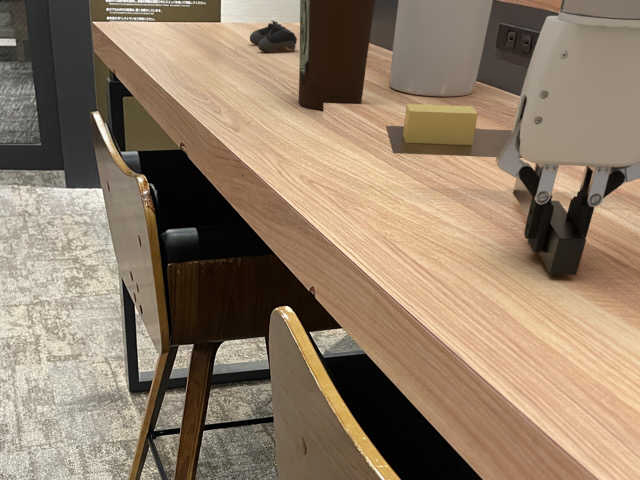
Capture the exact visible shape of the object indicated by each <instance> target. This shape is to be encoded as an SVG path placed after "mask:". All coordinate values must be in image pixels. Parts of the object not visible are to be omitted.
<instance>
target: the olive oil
mask: <svg viewBox="0 0 640 480" xmlns="http://www.w3.org/2000/svg"><path fill="white" fill-rule="evenodd" d="M375 4H376V0H299V67H298V68H299V72H298V74H299V75H298V104H299V105H300V106H301V107H304V108H308V109H313V110H320V111H324V104H338V105H339V104H340V105H341V104H342V105H362V101H363V94H364V86H365V85H364V84H365V76H366V68H367V63H368V62H367V61H368V54H369V46H370V41H371V33H372V32H371V31H372V27H373V26H372V25H373V17H374V12H375V7H376V6H375Z"/></svg>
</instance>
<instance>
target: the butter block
mask: <svg viewBox="0 0 640 480" xmlns="http://www.w3.org/2000/svg"><path fill="white" fill-rule="evenodd" d="M478 114H479V112H478V111H477V110H476V109H475V107H474V106H473V105H451V104H450V105H447V104H445V105H444V104H420V103H417V104H416V103H406V107H405V114H404V122H403V126H404V129H403V137H404V140H405V143H423V144H450V145H472V144H473V138H474V133H475V129H476V127H477V121H478V116H479V115H478Z"/></svg>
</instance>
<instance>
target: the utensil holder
mask: <svg viewBox="0 0 640 480" xmlns="http://www.w3.org/2000/svg"><path fill="white" fill-rule="evenodd" d="M493 1H494V0H398V3H397V11H396V19H395V29H394V34H393V35H394V36H393V45H392V54H391V65H390V76H389V86H390V88H391V89H393V90H395V91H398V92H401V93H406V94H410V95H416V96H424V97H427V96H428V97H443V98H444V97H447V98H448V97H450V98H451V97H462V96H467V95H471V94H473V93H474V91H475V88H476V87H475V86H476V84H477V83H476V82H477V78H478V74H479V70H480V63H481V60H482V55H483V52H484V46H485V41H486V36H487V31H488V26H489V21H490V17H491V12H492V7H493Z"/></svg>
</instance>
